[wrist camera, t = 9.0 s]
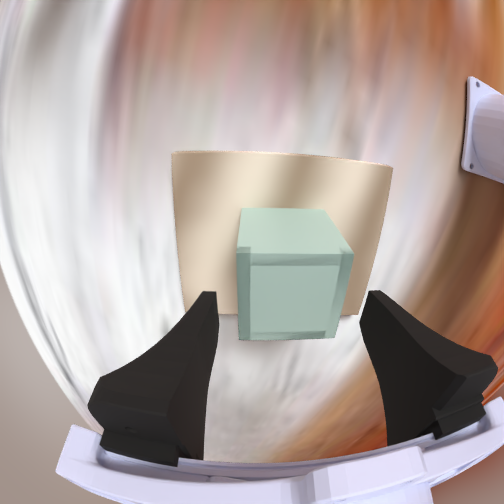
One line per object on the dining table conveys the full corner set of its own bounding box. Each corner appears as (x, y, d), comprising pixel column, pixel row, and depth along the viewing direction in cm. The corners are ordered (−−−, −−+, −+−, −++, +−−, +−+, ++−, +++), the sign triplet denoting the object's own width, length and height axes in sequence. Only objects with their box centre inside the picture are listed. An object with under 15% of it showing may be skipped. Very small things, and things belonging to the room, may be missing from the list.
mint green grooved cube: (324, 209, 17) (354, 254, 12) (315, 278, 19) (334, 337, 14) (241, 207, 17) (236, 253, 12) (242, 278, 19) (239, 340, 14)
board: (386, 164, 16) (430, 186, 11) (354, 307, 22) (374, 354, 17) (175, 151, 16) (144, 167, 11) (187, 303, 22) (172, 353, 17)
